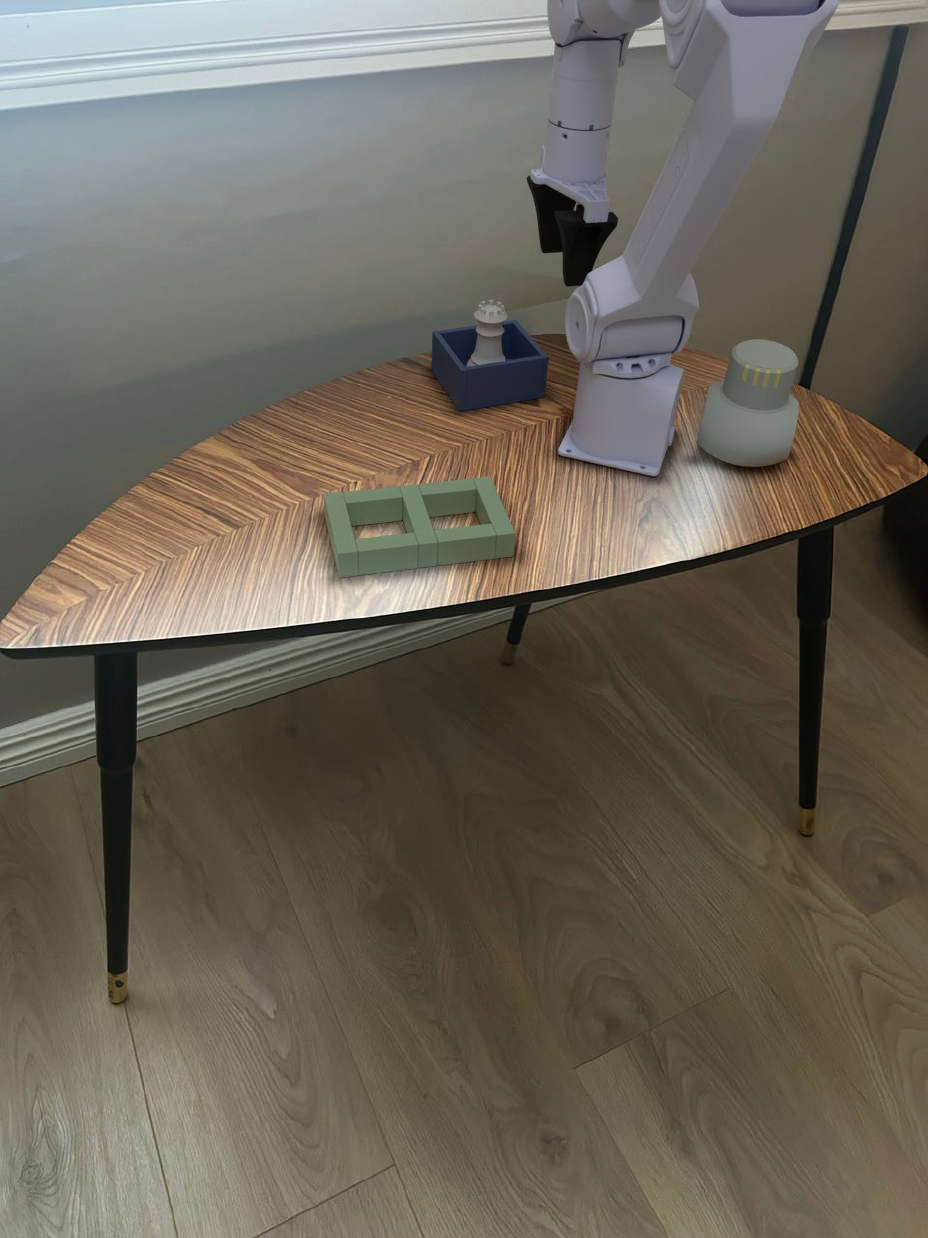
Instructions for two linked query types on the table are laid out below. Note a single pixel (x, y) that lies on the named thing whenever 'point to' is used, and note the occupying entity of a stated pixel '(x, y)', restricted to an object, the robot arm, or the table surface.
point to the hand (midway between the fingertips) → (563, 267)
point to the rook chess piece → (488, 334)
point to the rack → (417, 526)
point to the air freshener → (752, 406)
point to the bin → (489, 368)
